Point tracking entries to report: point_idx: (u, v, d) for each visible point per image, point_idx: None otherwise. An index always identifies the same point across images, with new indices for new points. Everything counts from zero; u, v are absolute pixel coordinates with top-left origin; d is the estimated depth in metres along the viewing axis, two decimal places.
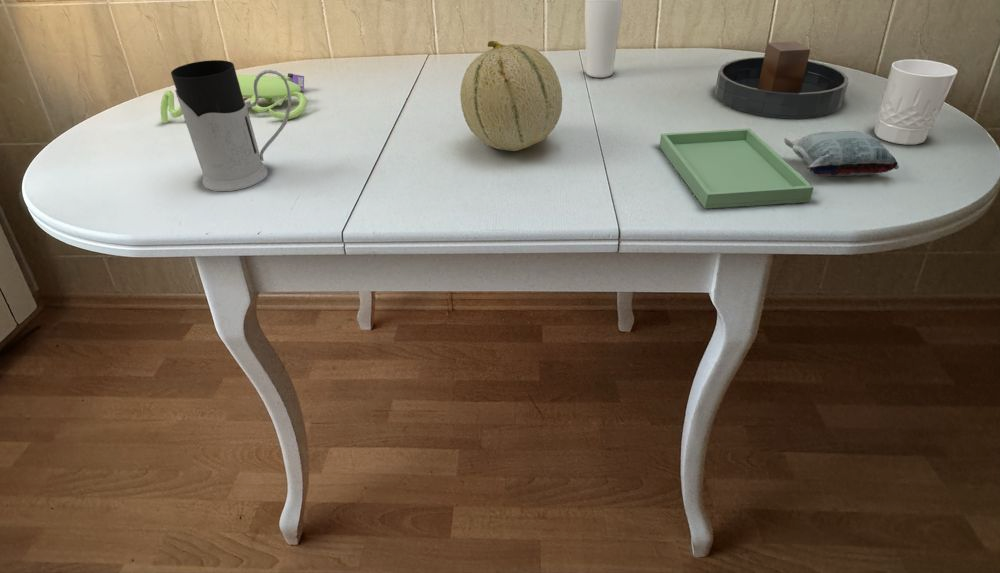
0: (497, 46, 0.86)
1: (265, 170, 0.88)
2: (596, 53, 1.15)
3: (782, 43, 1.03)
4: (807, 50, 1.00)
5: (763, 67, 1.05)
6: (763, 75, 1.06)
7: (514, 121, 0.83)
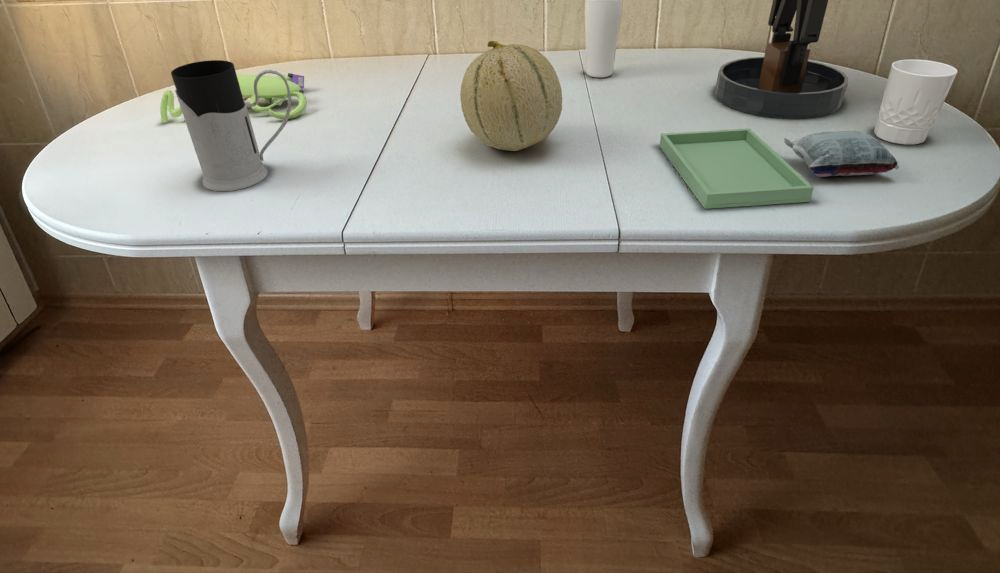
0: (497, 46, 0.86)
1: (265, 170, 0.88)
2: (596, 53, 1.15)
3: (782, 43, 1.03)
4: (807, 50, 1.00)
5: (763, 67, 1.05)
6: (763, 75, 1.06)
7: (514, 121, 0.83)
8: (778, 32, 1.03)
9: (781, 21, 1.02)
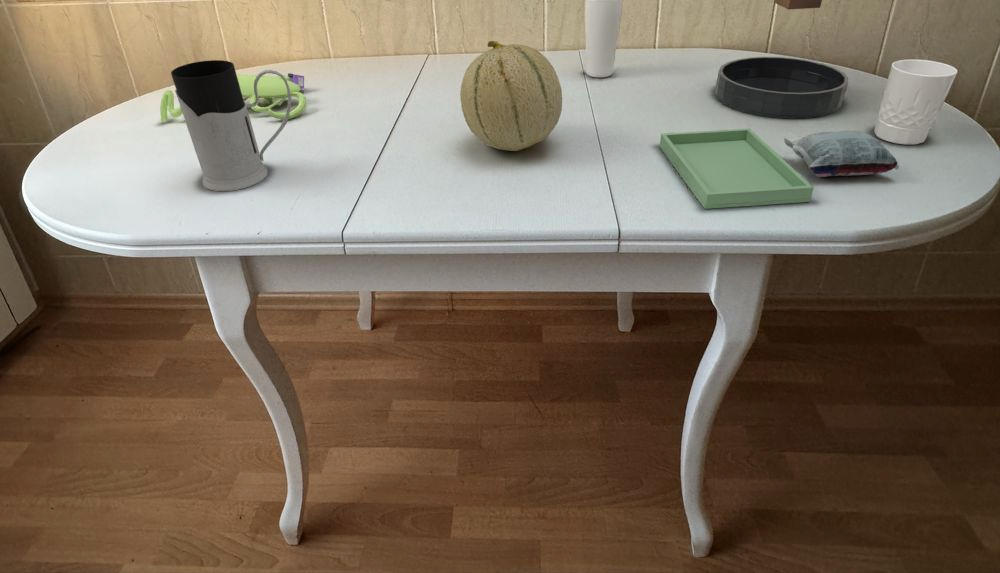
0: (497, 46, 0.86)
1: (265, 170, 0.88)
2: (596, 53, 1.15)
3: None
4: None
5: None
6: None
7: (514, 121, 0.83)
8: None
9: None
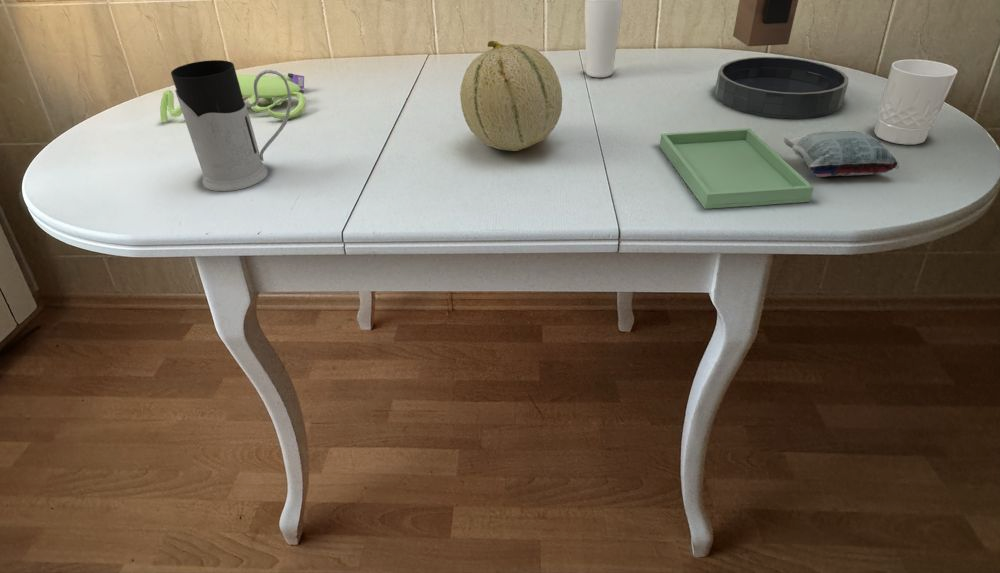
0: (497, 46, 0.86)
1: (265, 170, 0.88)
2: (596, 53, 1.15)
3: None
4: None
5: (740, 2, 0.77)
6: (740, 13, 0.77)
7: (514, 121, 0.83)
8: None
9: None
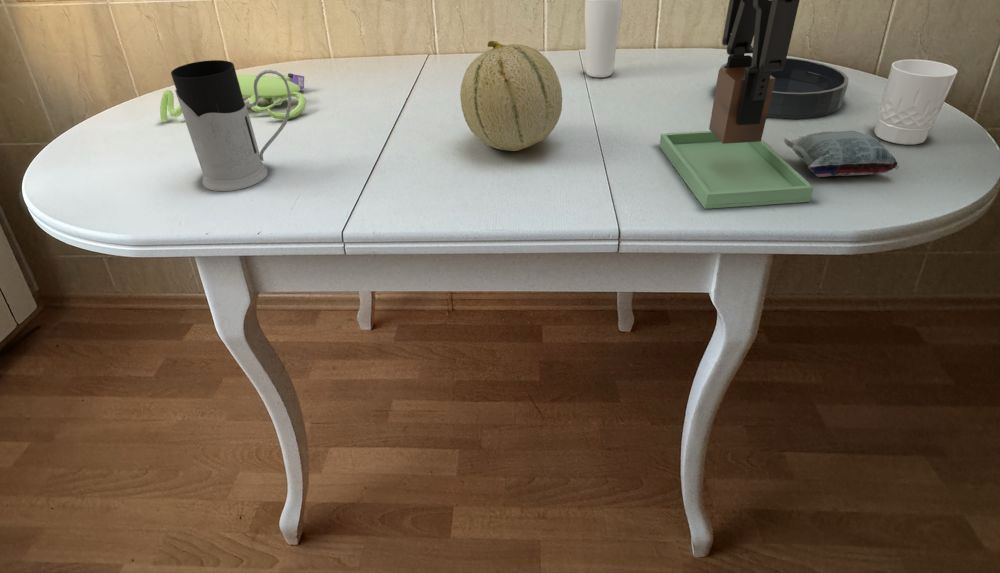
0: (497, 46, 0.86)
1: (265, 170, 0.88)
2: (596, 53, 1.15)
3: (739, 69, 0.78)
4: (771, 79, 0.74)
5: (715, 100, 0.80)
6: (715, 110, 0.80)
7: (514, 121, 0.83)
8: (734, 54, 0.78)
9: (738, 40, 0.77)
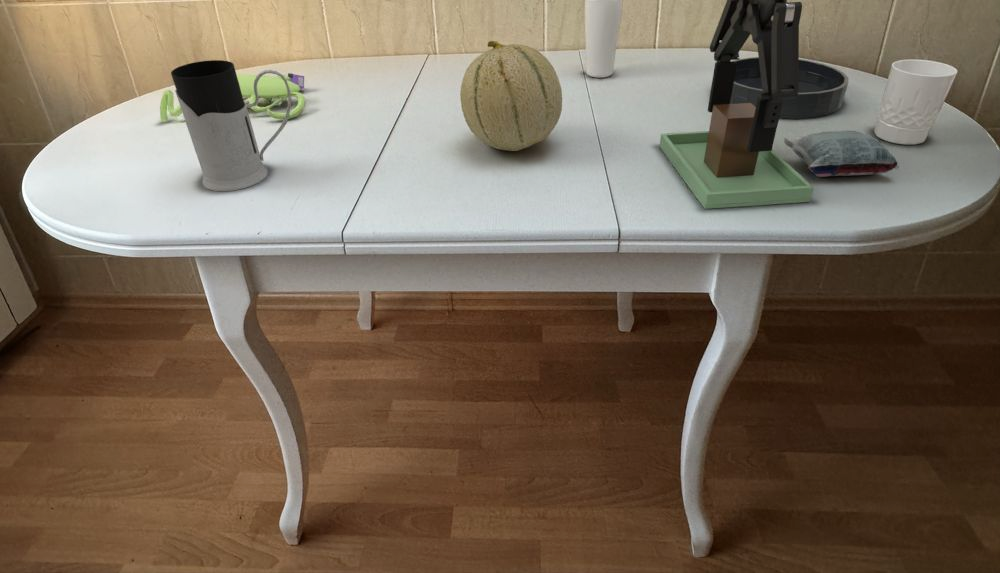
0: (497, 46, 0.86)
1: (265, 170, 0.88)
2: (596, 53, 1.15)
3: (732, 106, 0.80)
4: None
5: (709, 134, 0.83)
6: (710, 144, 0.83)
7: (514, 121, 0.83)
8: (721, 60, 0.82)
9: (724, 52, 0.81)
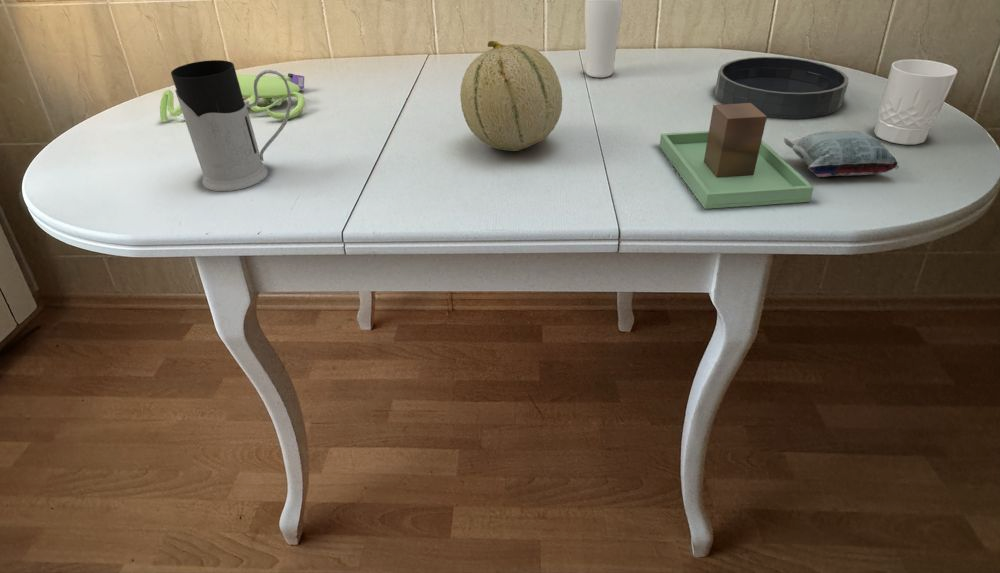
0: (497, 46, 0.86)
1: (265, 170, 0.88)
2: (596, 53, 1.15)
3: (732, 106, 0.80)
4: (763, 117, 0.77)
5: (709, 134, 0.83)
6: (710, 144, 0.83)
7: (514, 121, 0.83)
8: None
9: None
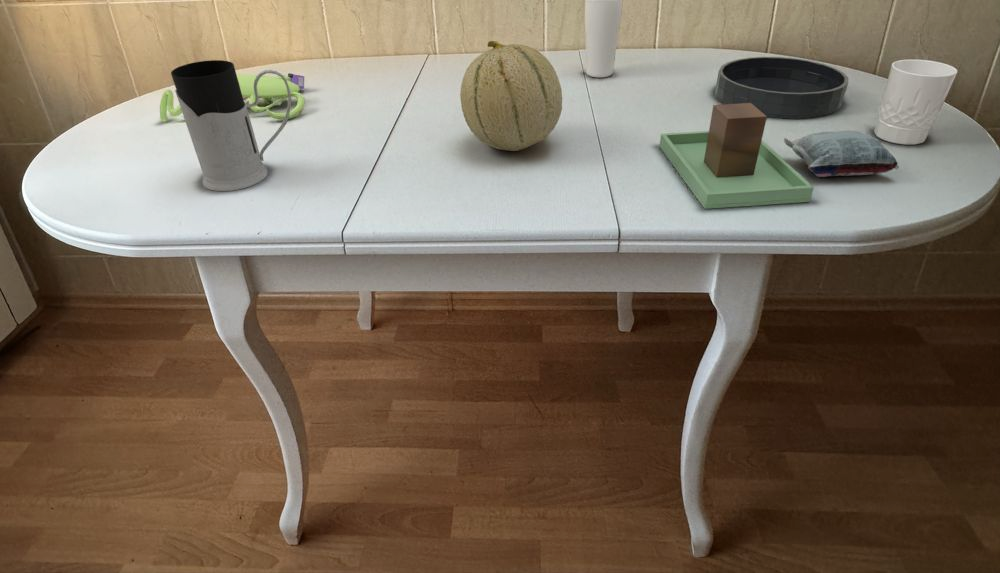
0: (497, 46, 0.86)
1: (265, 170, 0.88)
2: (596, 53, 1.15)
3: (732, 106, 0.80)
4: (763, 117, 0.77)
5: (709, 134, 0.83)
6: (710, 144, 0.83)
7: (514, 121, 0.83)
8: None
9: None
